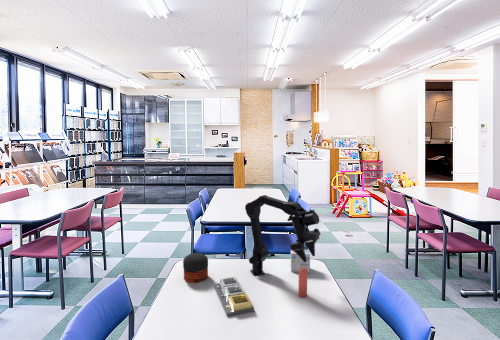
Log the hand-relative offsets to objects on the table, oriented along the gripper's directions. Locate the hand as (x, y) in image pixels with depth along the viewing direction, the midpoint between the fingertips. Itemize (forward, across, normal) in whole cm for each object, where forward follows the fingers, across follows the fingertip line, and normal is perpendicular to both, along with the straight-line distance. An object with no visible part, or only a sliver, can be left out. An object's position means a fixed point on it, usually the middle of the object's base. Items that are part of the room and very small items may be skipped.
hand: (309, 258), depth 150 cm
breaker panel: (+5, -29, +29) cm, 41 cm away
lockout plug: (+14, -8, +5) cm, 17 cm away
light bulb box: (+10, +17, +19) cm, 27 cm away
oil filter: (-5, -24, +56) cm, 61 cm away
